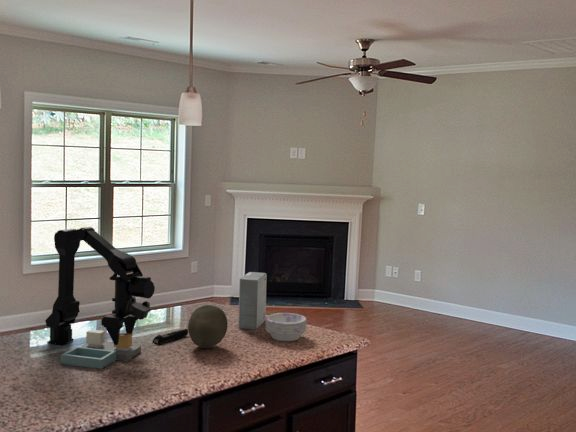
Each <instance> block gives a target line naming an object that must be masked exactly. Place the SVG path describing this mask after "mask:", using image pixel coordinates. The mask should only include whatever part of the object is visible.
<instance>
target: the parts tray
mask: <svg viewBox="0 0 576 432" xmlns="http://www.w3.org/2000/svg"><path fill="white" fill-rule="evenodd" d="M60 355H61V356H60V358H61V359H60V361H61V362H60V365H65V366H66V365H67V366H73V367H82V368H90V369H97V368H99V369H98V370H103V369H105V368H106V367H108V366H110V365H111V364H113V363H114V362H116V361H117V360H116V351H111V350H102V349H94V348H85V347H81V346H75V347H74V348H71V349H69V350H68V351H65V352H64V353H62V354H60ZM115 360H116V361H115ZM110 363H111V364H110ZM107 365H108V366H107ZM105 366H106V367H105ZM104 367H105V368H104ZM102 368H103V369H102Z"/></svg>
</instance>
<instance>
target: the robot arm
mask: <svg viewBox="0 0 576 432" xmlns="http://www.w3.org/2000/svg"><path fill="white" fill-rule="evenodd" d="M53 240H54V241H53V242H54V248H55V250H56V252H57V254H58V255H59V256H58V289H57V292H58V293H57V297H56V299H55V301H54V302H53V304H52V310H51V314H50V315H49V316H47V318H46V319H45V325H46V327H47V328H48V327H49V340H48V341H46V343H47V344H52V345H53V344H54V345H59V346H61V345H62V346H64V345H67V344H69V343H70V342H73V341H74V338H73V328H72V324H74V323H75V322H76V318H77V317H78V316H79V313H80V304H81V303H80V300H76V298H75V296H74V290H75V289H74V287H75V286H74V284H75V283H74V282H75V280H74V279H75V257H76V254H77V252H78V251H79V249H80V246H81V245H80V244H81V242H82V241H84V242H85V244H87V246H90V248H92V249H93V250H94V251H95V252H96V253H98V254H99V256H101V257H102V258H104V259H105V261H106V262H107V266H108V267H109V268H110V270H111V271H112V272H113V275H111V276H110V277H109V280H110V281H114V297H112V298H111V302H114V309H112V310H111V313H109V314H107V315H104V316H103V317H102V318H101V319H100V326H102V327H103V328H105V330H106V331H107V333H108V334H109V337H110V339H111V341H112V343H114V345H118V341H119V334H120V333H121V330H122V328H123V327H124V329H125V332H126V333H128V334H132V335H133V332H134V328H135V326H136V324H137V321H138V320H143V319H147V317H148V315H149V313H150V312H151V304H150V302H149V301H147V300H145V301H143V302H137V299H136V298H142V299H143V298H144V299H151V298H152V297H153V295H154V293H155V291H156V289H155V284H154V281H152V277H151V276H144V274H143V272H142V270H141V269H140V267H139V266H138V264H137V260H136V258H135V257H134V256H133V255H131V254H129V253H127V252H125V251H121V250H119V249H118V248H116V247H115V246H114V245H112V244H111V243H110V242H109V241H107V239H105V238H104V237H103V236H102V235H101V234H99V233H98V232H97V231H96V230H95V228H93V227H92V226H87V227H80V228H77V229H76V228H69V229H68V228H67V229H59V230H57V231H56V232H55V234H54V237H53Z"/></svg>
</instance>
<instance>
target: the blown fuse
mask: <svg viewBox="0 0 576 432" xmlns="http://www.w3.org/2000/svg"><path fill="white" fill-rule="evenodd" d="M132 345H133V333H132V334H128V333H125V332H120V334H119V341H118V345H114V347H116V350H122V351H129V350H130V347H131V346H132Z"/></svg>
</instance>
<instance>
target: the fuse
mask: <svg viewBox="0 0 576 432" xmlns="http://www.w3.org/2000/svg"><path fill="white" fill-rule="evenodd" d="M105 332H106V331H105V330H101V329H99V330H98V329H90V330H87V331H86V337H85V339H86V343H85V344H88V347H97V348H100V347H102V344H103V343H105V342H106V340H105V336H106V333H105Z"/></svg>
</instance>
